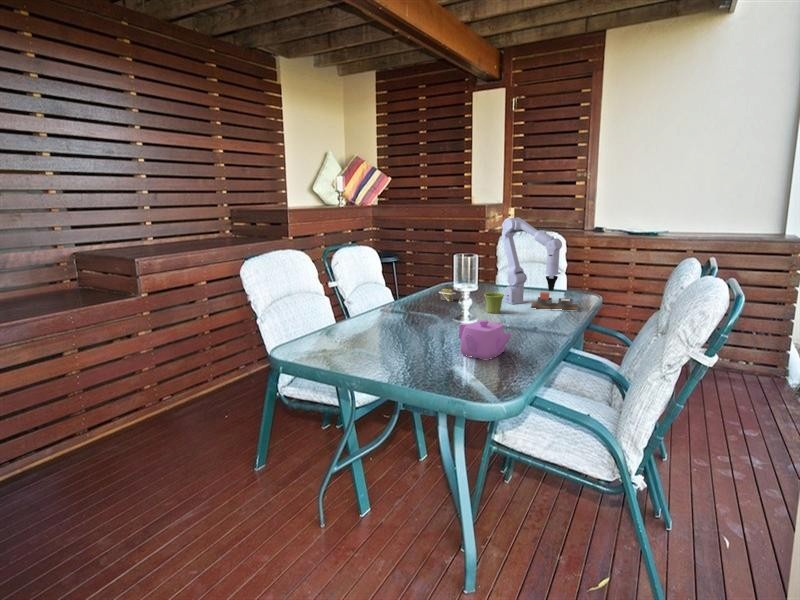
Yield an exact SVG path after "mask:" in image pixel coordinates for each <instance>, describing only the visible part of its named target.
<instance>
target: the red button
mask: <svg viewBox="0 0 800 600" xmlns="http://www.w3.org/2000/svg"><path fill="white" fill-rule="evenodd" d="M539 297H540V299H545V300H549V298H550V291H540V292H539Z"/></svg>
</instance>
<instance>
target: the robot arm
mask: <svg viewBox="0 0 800 600" xmlns="http://www.w3.org/2000/svg"><path fill="white" fill-rule="evenodd" d="M501 227H502V232H501V238H502V243H503V246H504V247H503V248H504V251H505V255H506V260H507V264H508V270H507V272H506V273H507V281H506V282H507V283H508V284H509V285H508V286H506V287H505V289H504V296H503V299H504V300H503V302H504V303H507V304H511V305H517V304H525V302H526V303H527V301H526V300H524V288H525V284H526V283H527V280H528V279H527V278H528V277H527V274H526V273H525V271H524V268H522V266H520V261H519V257H518V253H517V248H516V245H515V240H514V236H515V235H516V233H517V232H518V231H520V230H521V231H524V232H526V233H527V234H529V235H531V236H533V237H534V240H535V241H536V242H538V243H539V244H541V245H542V246H544V247H545V249H546V251H547V252H546V255H547V256H546V271H545V274H546V276H545V279H546V282H547V288H548V292H553V291H554V289H555V285H556V282H557V280H558V278H559V276H558V275H561V273H562V272H559V266H560V265H559V264H560V253H561V252H560V251H561V249H562V247H563V242H562V241H561V239H560V238H557V237H556V238H555V236H554V235H550V234H549V233H547V231H546V230H537V228H536V227H533V226H532V225H531V224H529V222H527V221H525V220H524V219H522V218H520V217H518V216H517V217H511V218H510V217H508V218H505V219H504V221H503V222H502V224H501Z"/></svg>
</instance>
